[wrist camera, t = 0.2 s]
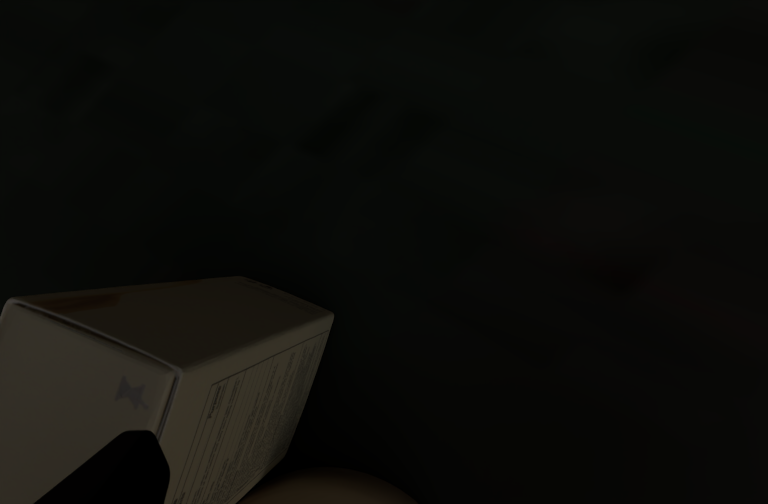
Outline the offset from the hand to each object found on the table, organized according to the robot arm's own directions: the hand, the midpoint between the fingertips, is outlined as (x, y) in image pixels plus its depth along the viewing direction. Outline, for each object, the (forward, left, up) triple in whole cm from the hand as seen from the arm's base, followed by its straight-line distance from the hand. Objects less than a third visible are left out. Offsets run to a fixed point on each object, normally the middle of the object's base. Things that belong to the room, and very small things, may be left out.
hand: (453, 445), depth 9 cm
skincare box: (+3, +8, -15) cm, 17 cm away
